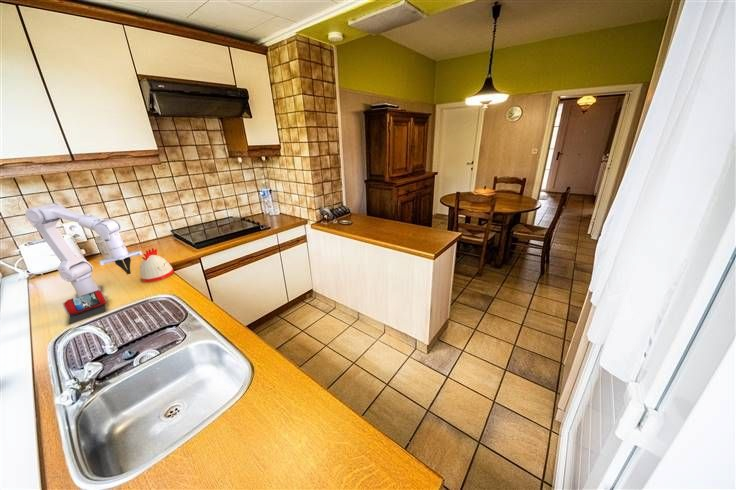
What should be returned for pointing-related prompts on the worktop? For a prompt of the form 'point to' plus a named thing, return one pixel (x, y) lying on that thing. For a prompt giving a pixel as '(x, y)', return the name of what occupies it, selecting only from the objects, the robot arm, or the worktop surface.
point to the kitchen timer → (154, 267)
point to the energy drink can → (102, 247)
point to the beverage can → (84, 302)
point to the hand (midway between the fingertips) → (129, 273)
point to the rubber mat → (86, 314)
